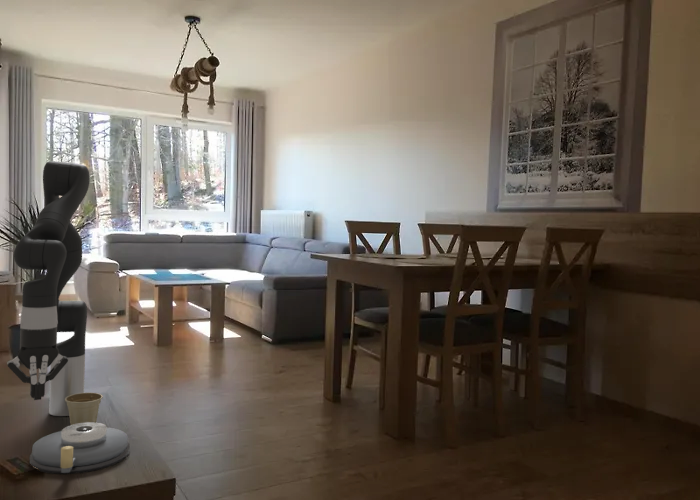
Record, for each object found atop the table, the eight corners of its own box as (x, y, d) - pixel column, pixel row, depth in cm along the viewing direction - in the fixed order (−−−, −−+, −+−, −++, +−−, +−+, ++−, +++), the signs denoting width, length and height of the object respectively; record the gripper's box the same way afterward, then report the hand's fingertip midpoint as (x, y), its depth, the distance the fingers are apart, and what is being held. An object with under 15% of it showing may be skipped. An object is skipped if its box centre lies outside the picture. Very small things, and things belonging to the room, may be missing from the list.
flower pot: (87, 435, 152) (88, 403, 152) (56, 432, 154) (57, 400, 154) (108, 424, 161) (109, 394, 161) (79, 421, 163) (80, 391, 163)
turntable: (28, 442, 142) (29, 418, 142) (117, 429, 154) (118, 407, 154) (39, 482, 121) (39, 454, 120) (141, 463, 132) (142, 438, 132)
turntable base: (25, 448, 142) (25, 443, 142) (119, 433, 154) (119, 429, 154) (34, 481, 124) (34, 476, 124) (139, 462, 136) (139, 457, 136)
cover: (57, 438, 140) (58, 425, 140) (101, 431, 146) (101, 419, 146) (64, 451, 132) (65, 438, 132) (110, 444, 138) (110, 431, 138)
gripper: (68, 321, 140) (66, 391, 140) (5, 324, 132) (3, 398, 133) (72, 326, 133) (70, 399, 134) (6, 329, 126) (5, 407, 127)
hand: (37, 398), depth 133 cm, fingers closed
